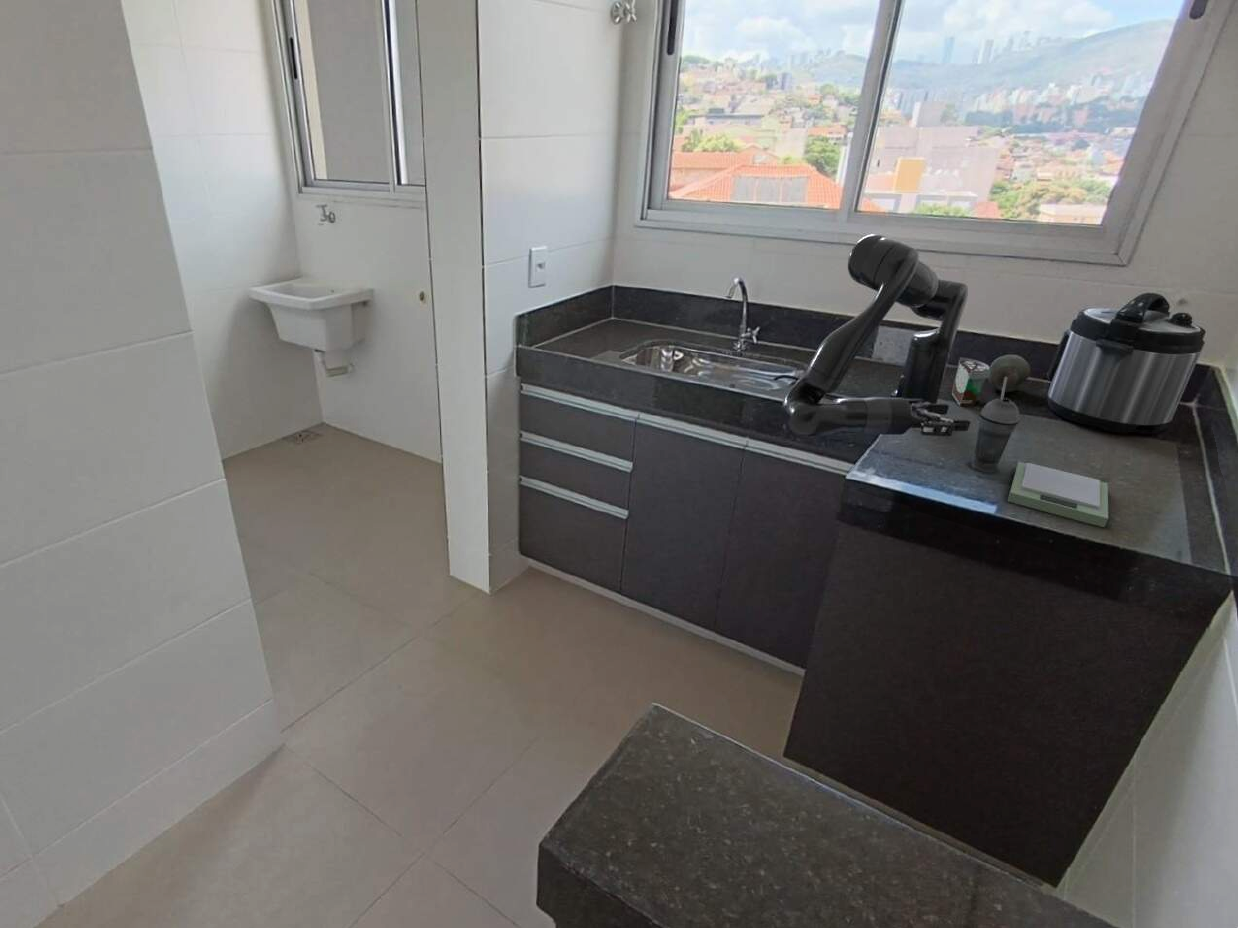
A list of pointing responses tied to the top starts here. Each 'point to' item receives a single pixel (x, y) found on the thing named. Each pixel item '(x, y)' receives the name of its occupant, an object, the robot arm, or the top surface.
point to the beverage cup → (994, 432)
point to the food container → (969, 381)
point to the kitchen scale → (1060, 493)
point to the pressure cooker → (1125, 366)
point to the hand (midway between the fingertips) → (957, 417)
